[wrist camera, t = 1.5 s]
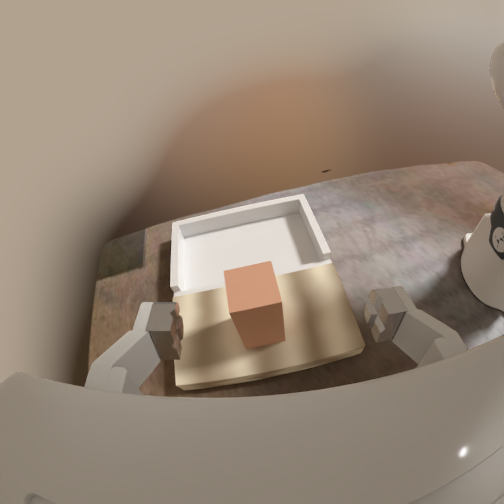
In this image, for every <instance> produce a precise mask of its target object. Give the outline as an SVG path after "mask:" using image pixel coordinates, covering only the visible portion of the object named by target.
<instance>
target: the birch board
mask: <svg viewBox="0 0 504 504" xmlns="http://www.w3.org/2000/svg"><path fill="white" fill-rule="evenodd" d="M275 277H276V281H277V285H278V288H279V292H280V296H281V300H282V307H283V318H284V329H285V341H282V342H277V343H273V344H268V345H263V346H259V347H254V348H249V349H246V348H245V346H244V344H243V342H242V340H241V338H240V335H239V333H238V331H237V329H236V327H235V325H234V322H233V320H232V318H231V316H230V314H229V308H228V301H227V293H226V287H222V288H217V289H212V290H207V291H202V292H197V293H192V294H187V295H182V296H177V297H173V302H177V303H178V304H179V308H180V311H179V315H180V316H181V317H182V319H183V325H184V334H183V339H182V340H181V341H180V342H181V346H182V350H181V357H180V360H174V364H175V381H176V386H177V387H179V388H181V389H182V390H194V389H202V388H210V387H217V386H224V385H231V384H237V383H243V382H248V381H254V380H259V379H264V378H269V377H274V376H279V375H283V374H288V373H292V372H296V371H300V370H304V369H308V368H312V367H316V366H320V365H323V364H327V363H330V362H334V361H337V360H341V359H344V358H347V357H351V356H354V355H357V354H360V353H361V352H362V350H363V349H364V347H365V343H364V340H363V337H362V334H361V332H360V329H359V326H358V324H357V321H356V318H355V316H354V313H353V311H352V308H351V305H350V303H349V300H348V298H347V295H346V293H345V290H344V288H343V285H342V283H341V281H340V278H339V276H338V273H337V271H336V269H335V266H334V264H333V263H330V264H326V265H321V266H317V267H313V268H309V269H304V270H300V271H296V272H291V273H287V274H282V275H278V276H275Z"/></svg>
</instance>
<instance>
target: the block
mask: <svg viewBox="0 0 504 504" xmlns="http://www.w3.org/2000/svg"><path fill="white" fill-rule="evenodd" d="M224 278H225V286H226V293H227V301H228V308H229V314H230V316H231V318H232V320H233V322H234V325H235V327H236V329H237V331H238V333H239V335H240V338H241V340H242V342H243V344H244V346H245V348H246V349H249V348H254V347H259V346H263V345H268V344H273V343H277V342H282V341H285V329H284V318H283V307H282V300H281V296H280V292H279V288H278V285H277V281H276V277H275V273H274V270H273V266H272V262H271V261H267V262H262V263H258V264H253V265H249V266H244V267H239V268H235V269H230V270H225V271H224Z"/></svg>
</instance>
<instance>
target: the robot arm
mask: <svg viewBox="0 0 504 504" xmlns="http://www.w3.org/2000/svg"><path fill="white" fill-rule="evenodd" d="M490 77H491V82H492V85H493V89H494V91H495V93H496V96H497V98H498V100H499V102H500V103H501V105H502V106H503V108H504V42H502V43H501V44H500V45H499V46H498V47H497V48H496V49H495V51H494V52H493V55H492V57H491V62H490ZM463 241H464V250H463V253H462V256H461V269H462V273H463V276H464V279H465V281H466V283H467V285H468V286H469V288H470V289H471V291H472V292H473V293H474V295H475V296H476V297H477V298H478V299H479V300H481V301H482V302H483V303H485V304H486V305H488V306H490V307H493V308H497V309H500V310H501V311H503V312H504V194H503V195H502V196H500V197H499V199H498V201H497V202H496V203H495V205H494V208H493V211H492V213H489V214H485V215H484V216H483V218H482V219H481V221H480V222H479V224H478V226H477V227H476V229H475V230H474V232H473V233H468V234H466V235H465V237H464V239H463ZM369 298H370V301H369V302H368V303H367V304H366V307H365V320H366V323H367V325H369V326H370V327H372V330H371V333H372V336H373V338H374V340H375V342H376V343H380V342H386V341H392V342H393V343H394V344H395V345H397V346H398V347H399V348H400V349H401V350H402V351H404V352H405V353H406V354H407V355H408V356H409V357H410V358H412V359H413V360H414V361H415V362H416V363H417V364H418V366H417V367H416V368H415V369H411V370H408V371H404V372H401V373H397V374H393V375H389V376H385V377H381V378H377V379H373V380H368V381H364V382H359V383H354V384H349V385H344V386H338V387H332V388H326V389H320V390H313V391H306V392H298V393H289V394H279V395H267V396H253V397H232V398H184V397H162V396H149V395H142V393H141V392H140V390H139V389H138V388H139V387H140V386H141V385H142V383H143V382H144V381H145V380H146V378H147V377H148V376H149V375H150V373H151V372H152V371H153V370H154V369H155V367H156V366H157V365H158V364H159V362H160V361H161V360H180V357H181V350H182V346H181V342H180V341H181V340H182V339H183V334H184V325H183V319H182V317H181V316H180V315H179V311H180V308H179V304H178V303H177V302H142V304H141V305H140V308H139V311H138V314H137V318H136V321H135V324H134V327H133V330H132V331H128V332H127V333H126V334H125V335H124V336H123V337H121V338H120V339H119V340H118V341H117V342H116V343H114V344H113V345H112V346H111V347H110V348H109V349H108V350H106V351H105V352H104V353H103V354H102V355H101V356H100V357H98V358H97V359H96V360H95V361H94V362H93V363H92V365H91V368H90V371H89V374H88V377H87V380H86V383H85V387H81V386H75V385H70V384H66V383H61V382H56V381H52V380H47V379H44V378H40V377H36V376H32V375H29V374H26V373H22V372H17V373H15V374H13V375H11V376H10V377H8V378H7V379H6V380H4V381H3V382H2V383H1V384H0V504H504V335H502V336H500V337H498V338H495V339H493V340H491V341H489V342H487V343H484V344H482V345H480V346H477V347H475V348H472V349H470V350H468V349H467V347H466V345H465V344H464V342H463V340H462V339H461V337H460V336H459V334H458V332H456V331H455V330H453V329H452V328H450V327H448V326H447V325H445V324H444V323H442V322H440V321H439V320H437V319H435V318H434V317H432V316H430V315H429V314H427V313H425V312H424V311H422V310H420V309H419V310H418V309H417V308H416V306H415V305H414V303H413V302H412V300H411V299H410V297H409V296H408V294H407V293H406V291H405V290H404V288H403V287H401V286H398V287H391V288H384V289H376V290H372V291H371V292H370V294H369Z"/></svg>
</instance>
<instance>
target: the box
mask: <svg viewBox="0 0 504 504" xmlns="http://www.w3.org/2000/svg"><path fill="white" fill-rule="evenodd" d="M330 255H331V251H330V249H329V247H328V245H327V242H326V240H325V238H324V236H323V234H322V232H321V229H320V227H319V225H318V223H317V221H316V219H315V217H314V215H313V212H312V210H311V208H310V206H309V204H308V202H307V200H306V198H305V196H304V194H300V195H295V196H290V197H285V198H280V199H275V200H270V201H265V202H260V203H255V204H251V205H246V206H241V207H237V208H232V209H228V210H223V211H219V212H214V213H210V214H206V215H202V216H197V217H193V218H189V219H185V220H181V221H177V222H173V224H172V243H171V272H170V287H171V289H172V290H173V292H174V297H177V296H182V295H187V294H192V293H197V292H202V291H207V290H212V289H217V288H222V287H226V286H225V278H224V271H225V270H230V269H235V268H239V267H244V266H249V265H253V264H258V263H262V262H267V261H271V262H272V266H273V270H274V273H275V276H278V275H282V274H287V273H291V272H296V271H300V270H304V269H309V268H313V267H317V266H321V265H326V264H330V263H332V262H331V260H330Z"/></svg>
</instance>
